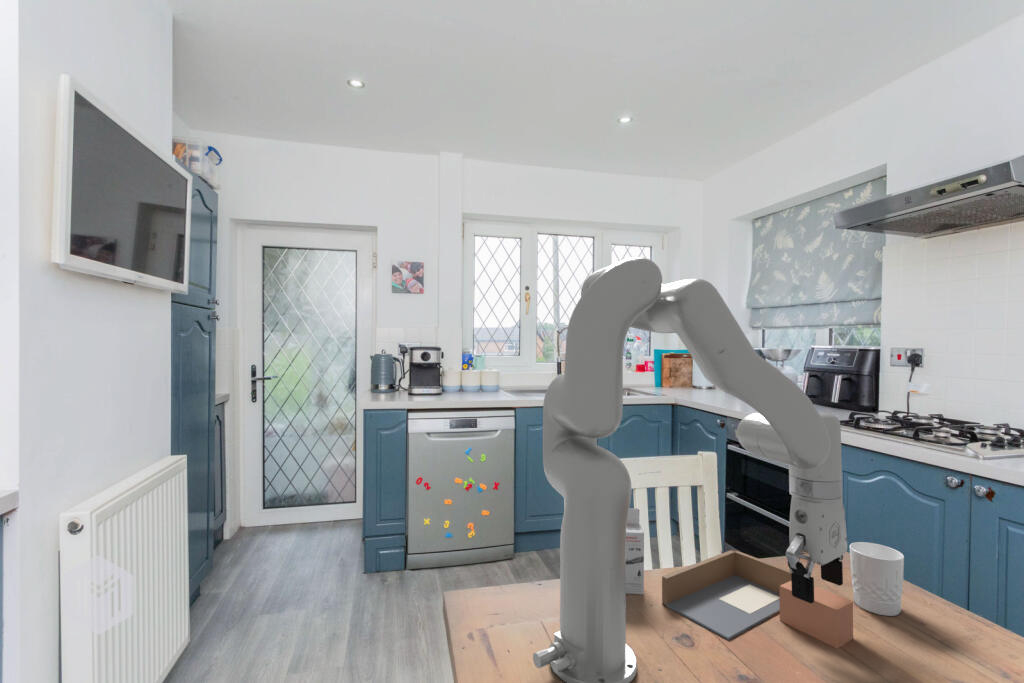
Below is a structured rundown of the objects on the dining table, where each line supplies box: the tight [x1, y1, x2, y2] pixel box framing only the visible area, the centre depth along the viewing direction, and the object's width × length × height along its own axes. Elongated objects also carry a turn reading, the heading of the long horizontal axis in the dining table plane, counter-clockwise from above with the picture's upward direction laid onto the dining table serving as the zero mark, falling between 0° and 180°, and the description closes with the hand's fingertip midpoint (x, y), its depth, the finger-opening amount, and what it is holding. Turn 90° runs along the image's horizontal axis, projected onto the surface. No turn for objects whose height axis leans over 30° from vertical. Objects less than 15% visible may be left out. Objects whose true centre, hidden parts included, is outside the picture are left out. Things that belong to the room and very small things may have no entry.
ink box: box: [626, 507, 645, 595], centre depth 94 cm, size 9×5×15 cm, turn 84°
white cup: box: [849, 541, 905, 617], centre depth 87 cm, size 8×8×10 cm
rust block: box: [779, 581, 854, 649], centre depth 80 cm, size 5×9×6 cm, turn 31°
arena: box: [661, 548, 791, 641], centre depth 88 cm, size 22×13×5 cm, turn 123°
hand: (817, 590), depth 80 cm, fingers open, 9 cm apart
